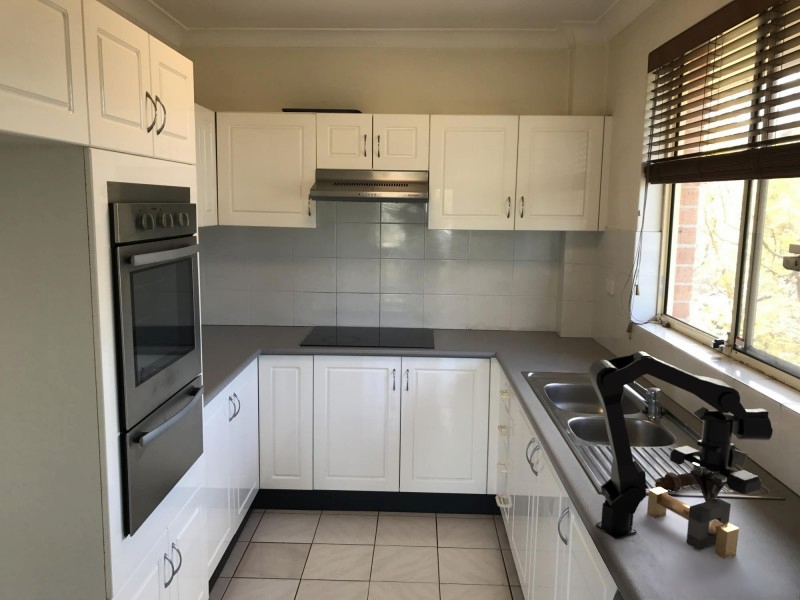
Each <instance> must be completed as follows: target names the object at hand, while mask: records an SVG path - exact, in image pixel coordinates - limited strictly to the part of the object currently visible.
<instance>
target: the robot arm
mask: <svg viewBox="0 0 800 600" xmlns="http://www.w3.org/2000/svg"><path fill="white" fill-rule="evenodd" d="M645 375H649V376H651V377H653V378H655V379H658V380H660V381H663V382H665V383H667V384H670V385H672V386H674V387H676V388H679V389H681V390H683V391H686V392H688V393H691V394H693V395H694V396H695V397H698V398H699V399H700V400H701V401H703V402H705V403H706V404H708V405H709V406H710V407H712V408H714V409H715V410H714V409H708V408H707V407H706V406H701V407H700V408H699V409H697V410H696V411H694V412H693V415H694V416H695V417H697V418H698V419H699V420H700V421H703V423H702V434H701V439H699V440H698V439H697V441H696V442H697V443H696V445H697V446H699V447H700V450H698V449H696V448H693V447H691V446H688V445H684V446H683V445H682V446H680V447H676V448H673V449H672V450H671V451H670V452H669V461H670V462H672V463H675V464H677V465H679V466H680V465H683V464H685V462H686V461H687V462H689V463H690V464H691V463H692V464H691V465H693V467H692V470H690V472H689V473H691V474H693V475H694V477H695V479H696V481H697V483H698V485H697V486H698V487H699V490H700V492H701V494H702V496H703V499H704V502H707V501H710V500H713V499H717V497H718V495H719V494H720V493H721V491H722V489H723V488H724V486H726V485H727V487H728V489H730V490H732V491H734V492H736V493H739V494H740V495H741V494H743V495H746V494H749V493H753V492H757V491H759V490H761V489H762V480H761V478H760V477H759V475H757V474H753V473H751V472H749V471H747V470H745V469H741V470H739V471H735V470H732V469H730V468H735V467H736V465H738V466H739V467H741V468H744V467H745V463H746V461H747V458H748V455H749V454H748V452H744V451H741V450H738V449H737V448H736V445H735V443H732V438H733V437H732V434H733V435H734V436H735V437H736V439H738V440H740V441H765V442H767V441H770V440H771V439H772V436H773V431H774V430H773V428H772V427H773V426H772V421H771V420H770V417H769V413H770V412H769V411H768V410H766V409H765V408H751V409H750V408H745V407H744V406H743V404H742V402H741V395H740V392H739V391H738V390H737V389H735V388H734V387H733V386H731V385H729V384H727V383H726V382H725V381H723V380H721V379H718V378H717V379H716V378H713V377H708V376H702V375H696V374H694V373H691V372H688V371H686V370H684V369H681V368H680V367H677V366H675V365H672V364H670V363H667V361H666V362H665V361H663V360H661V359H659V358H656V357H654V356H651V355H649V354H648V353H647V352H645V351H637V352H633V353H631V354H628V355H623V356H617V357H612V358H610V359H607V360H606V359H600V360H599V359H598V360H596V361H594V362H593V363H592V364H591V366H590V367H589V368H588V376H589V378H590V379H589V380H590V381H591V384H592V386H593V388H594V391H595V393H596V395H597V397H598V399H599V401H600V404H601V410H602V413H603V418H604V422H605V423H604V424H605V427H606V433H607V437H608V441H609V446H610V451H611V455H612V463H611V467H610V473H611V474H610V475H611V476H610V477H611V478H609V479H608V480H607V481H605V483H603V484H602V485H601V486H600V490H601V494H602V496H604V499H605V500H604V502H603V503H602V508H601V521H599V522H596V523H595V526H596V527H597V528H599V529H600V530H602V531H603V532H605V533H607V534H608V535H609V536H611V537H612V536H613V537H612V538H614V539H616V540H617V539H618V540H619V539H621V538H625V537H629V536H631V535H634V534H637V532H638V530H637V529H636V528H634V527H633V523H634V522H633V521H634V514H635V513H636V511H637V509H638V507H639V505H640V503H641V502H642V501H644V499H646V497H647V490H650V487H649V485H648V484H647V480H646V471H645V470H644V469H643V467H642V466H641V465H640V463H639V462H638V461H637V460H634V458H633V453H632V450H631V444H630V437H629V434H628V433H629V432H628V429H627V424H626V419H625V418H626V417H625V414H624V410H623V404H622V403H623V396H624V393H625V392H624V389H625V387H624V386H625V385H628V384H629V385H630V384H631V383H633V382H635V381H636V380H638V379H639V378H640V377H642V376H645Z"/></svg>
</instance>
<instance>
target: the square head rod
mask: <svg viewBox="0 0 800 600" xmlns="http://www.w3.org/2000/svg"><path fill="white" fill-rule="evenodd" d="M690 506H691V505H689V504H687V503H685V502H683V501H681V500H679V499H677V498H675V497H674V496H672V495H670V494H669V491H668V490H665V489H663V488H661V487H658V488H656V487H654V488H651V489H650V488H649V489H648V499H647V509H646V514H647V515H649V516H650V517H652V518H653V519H658V518H661V517H664V516H667V510H669V511H670V512H672V513H674V514H676V515H677V516H679V517H681V518H684V519H685V520H687V521H688V520H689V510H690ZM739 531H740V528H739V527H738V526H735V524H734V525H733V524H732V523H730V522H729V523H726V524H723V523H721V522H719V521H718V520H717V519H714V520H710V522H709V531H708V532H709V533H711V534H714V535H716V543H715V545H714V554H716V555H717V556H719V557H721V558H722V559H724V560H726V559H729V558H731V557H733V556H736V555H737V549H738V541H739V533H740V532H739Z"/></svg>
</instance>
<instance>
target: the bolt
mask: <svg viewBox="0 0 800 600" xmlns="http://www.w3.org/2000/svg"><path fill="white" fill-rule="evenodd" d="M654 482H655V484H654V486H655V487H654V488H658V487H661V488H663V489H665V490H667V491H668V490H669V491H670V490H671V491H670V492H672V491H677V492H679V491H680V490H681V488H686V487H689V486H695V485H697V486H699V485H698V483H697V481H696V479H695V477H694V475H693V474H691V473H690V472H685V473H684V472H683V473H681V474H677V473H675V472H667V473H666V474H665V475H664V476H663V477H658V478H657V479H654Z"/></svg>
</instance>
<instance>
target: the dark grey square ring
mask: <svg viewBox="0 0 800 600" xmlns="http://www.w3.org/2000/svg"><path fill="white" fill-rule="evenodd" d="M689 506H690V510H689V520H687V521H688V522H687V531H686V541H685V543H686V544H687V545H688V546H690V547H692V548H693V549H696V550H697V551H700V550H704V549H707V548H709V547H712V546H715V543H716V535H714V534H711V533H709V532H708V531H709V522H710V520H714V519H717V520H718V521H719V522H721V523H723V524H726V523H730V516H731V515H730V514H731V503H729V502H728V501H725V500H723V499H721V498H720V497H718V498H717V497H716V499H713V500H710V501H707V502H706V501H704V502H701V503H697V504H693V505H689Z"/></svg>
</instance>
